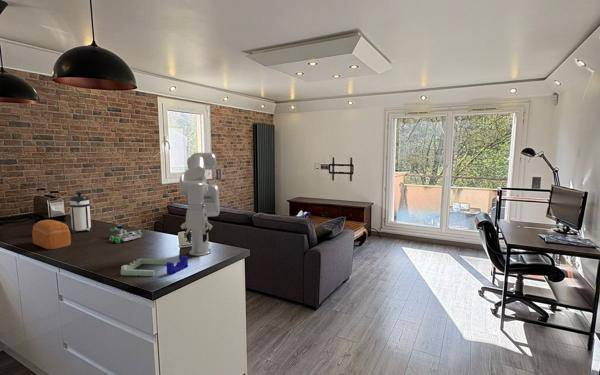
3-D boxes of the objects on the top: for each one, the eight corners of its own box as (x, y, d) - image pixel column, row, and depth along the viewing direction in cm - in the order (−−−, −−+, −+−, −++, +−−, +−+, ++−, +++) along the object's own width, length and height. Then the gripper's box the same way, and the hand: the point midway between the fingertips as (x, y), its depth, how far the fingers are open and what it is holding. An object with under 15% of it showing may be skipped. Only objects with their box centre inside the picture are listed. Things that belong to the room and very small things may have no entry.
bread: (47, 250, 196) (45, 225, 194) (31, 243, 210) (29, 220, 209) (73, 245, 208) (71, 221, 206) (56, 239, 222) (54, 216, 220)
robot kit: (123, 233, 238) (122, 221, 237) (145, 238, 227) (145, 225, 226) (98, 239, 222) (97, 226, 221) (120, 244, 211) (120, 230, 210)
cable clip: (181, 266, 172) (180, 255, 171) (187, 267, 170) (187, 256, 170) (164, 274, 161) (164, 262, 160) (171, 275, 159) (171, 263, 158)
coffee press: (99, 229, 250) (96, 191, 247) (78, 234, 235) (75, 193, 232) (83, 227, 256) (81, 190, 253) (62, 232, 241) (59, 192, 238)
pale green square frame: (140, 262, 176) (140, 255, 175) (170, 263, 175) (170, 256, 174) (120, 274, 158) (120, 267, 158) (153, 276, 157) (153, 268, 157)
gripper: (215, 206, 164) (216, 239, 166) (182, 205, 165) (183, 238, 167) (210, 208, 157) (211, 243, 158) (175, 207, 158) (177, 242, 160)
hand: (197, 240), depth 163 cm, fingers open, 7 cm apart
